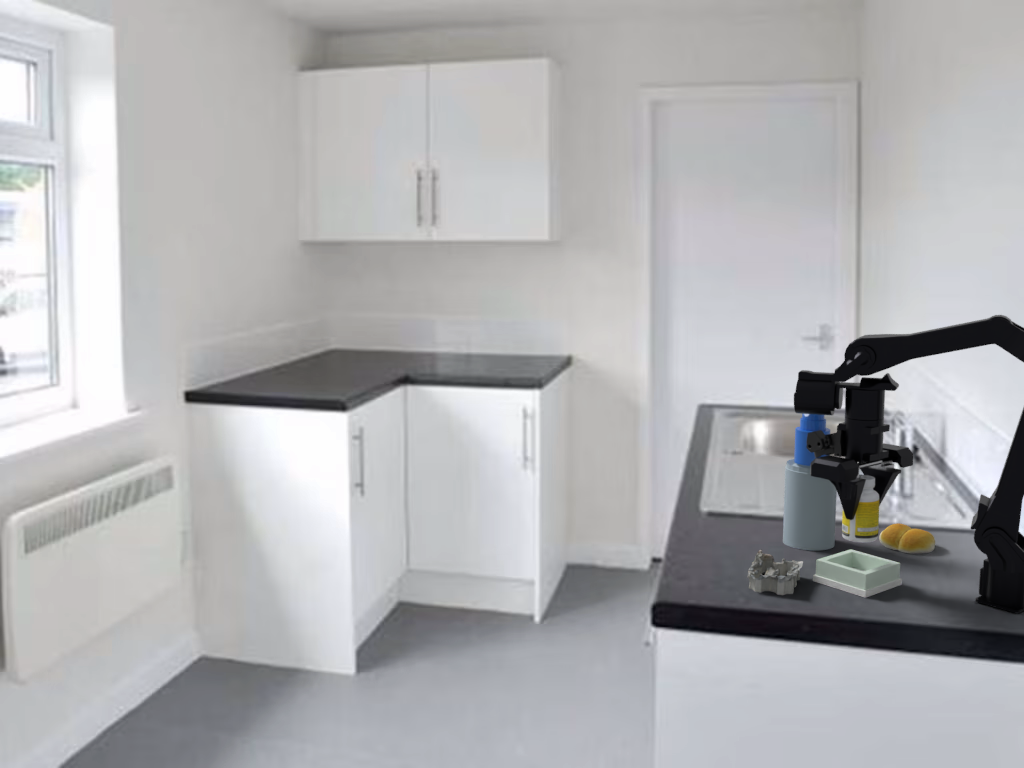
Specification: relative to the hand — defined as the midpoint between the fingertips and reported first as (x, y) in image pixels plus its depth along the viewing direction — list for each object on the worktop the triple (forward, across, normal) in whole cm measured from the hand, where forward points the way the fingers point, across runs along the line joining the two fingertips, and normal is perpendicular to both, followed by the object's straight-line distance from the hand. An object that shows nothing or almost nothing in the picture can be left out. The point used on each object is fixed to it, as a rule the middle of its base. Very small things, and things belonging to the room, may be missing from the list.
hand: (860, 516), depth 159 cm
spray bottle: (+11, -11, -18) cm, 24 cm away
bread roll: (+11, -23, -6) cm, 27 cm away
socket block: (+11, 0, 0) cm, 11 cm away
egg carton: (+11, +10, -8) cm, 17 cm away
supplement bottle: (+4, 0, 0) cm, 4 cm away
